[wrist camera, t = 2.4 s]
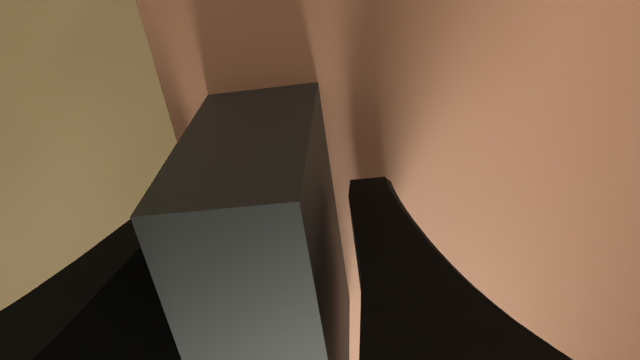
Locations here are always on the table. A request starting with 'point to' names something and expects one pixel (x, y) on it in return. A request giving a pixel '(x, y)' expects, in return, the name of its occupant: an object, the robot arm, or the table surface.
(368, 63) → the lid
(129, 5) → the table surface
